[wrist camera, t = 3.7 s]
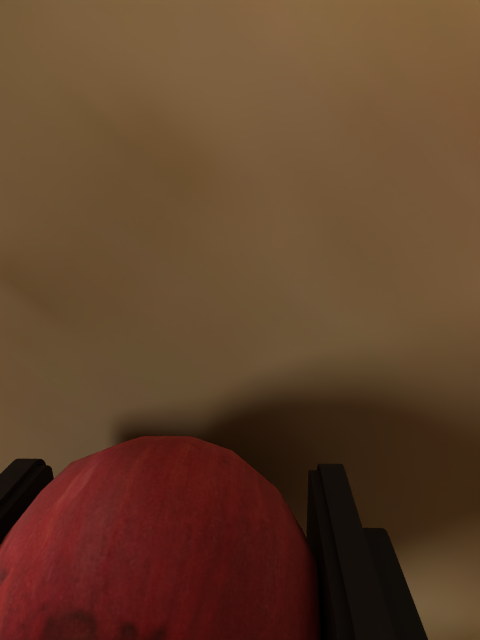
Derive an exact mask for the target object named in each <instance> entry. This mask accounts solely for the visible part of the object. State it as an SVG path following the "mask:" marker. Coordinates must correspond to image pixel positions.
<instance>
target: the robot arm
mask: <svg viewBox="0 0 480 640" xmlns="http://www.w3.org/2000/svg"><path fill="white" fill-rule="evenodd" d="M53 479H54V478H53V472H52V468H51V467H50V466H48V465H46V463H45V462H44V460H42V459H16V460H14V461H13V462H12V463H11V464H10V465H9V466H8V467H7V468H6V469H5V470H4V471H3V472H2V473H1V474H0V545H1V543H2V541H3V540H4V538H5V536H6V535H7V533H8V532H9V531H10V530H11V528H12V527H13V526H14V525H15V523H16V522H17V521H18V520H19V518H20V517H21V516H22V515H23V513H24V512H25V511H26V510H27V508H28V507H29V506H30V504H31V503H32V502H33V501H34V499H35V498H36V497H37V496H38V494H39V493H40V492H41V491H42V490H43V489H44V488H45V487H46V486H47V485H48V484H49V483H50V482H51V481H52V480H53ZM307 542H308V544H309V546H310V549H311V551H312V554H313V556H314V558H315V561H316V563H317V572H318V587H319V605H320V624H321V640H428V638H427V636H426V633H425V630H424V628H423V625H422V622H421V620H420V617H419V614H418V612H417V609H416V606H415V604H414V601H413V599H412V596H411V593H410V591H409V588H408V585H407V583H406V580H405V577H404V575H403V572H402V569H401V567H400V564H399V562H398V559H397V556H396V554H395V551H394V548H393V546H392V543H391V540H390V538H389V536H388V534H387V531H386V530H385V529H384V528H362V525H361V522H360V518H359V515H358V512H357V509H356V505H355V502H354V499H353V496H352V492H351V489H350V486H349V482H348V479H347V476H346V473H345V469H344V467H343V465H342V464H318V466H317V470H309V474H308V507H307Z"/></svg>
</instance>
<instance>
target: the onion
mask: <svg viewBox="0 0 480 640" xmlns="http://www.w3.org/2000/svg"><path fill="white" fill-rule="evenodd" d="M0 640H321V624H320V605H319V587H318V572H317V563H316V561H315V558H314V556H313V554H312V551H311V549H310V546H309V544H308V542H307V539H306V537H305V535H304V532H303V530H302V529H301V527H300V525H299V524H298V522H297V520H296V519H295V517H294V515H293V514H292V512H291V510H290V509H289V507H288V505H287V504H286V502H285V500H284V499H283V497H282V495H281V494H280V492H279V490H278V489H277V488H276V487H275V486H274V485H272V484H271V483H270V482H269V481H268V480H267V479H266V478H264V477H263V476H262V475H261V474H260V473H258V472H257V471H256V470H255V469H254V468H253V467H251V466H250V465H249V464H248V463H247V462H245V461H244V460H243V459H242V458H241V457H239V456H238V455H237V454H236V453H235V452H233V451H232V450H229V449H227V448H224V447H221V446H218V445H215V444H212V443H209V442H206V441H204V440H201V439H198V438H195V437H192V436H143V437H139V438H136V439H132V440H129V441H125V442H123V443H120V444H117V445H115V446H112V447H110V448H107V449H105V450H102V451H100V452H97V453H95V454H92V455H89V456H87V457H84V458H82V459H79V460H77V461H74V462H72V463H70V464H69V465H68V466H67V467H66V468H65V469H64V470H63V471H62V472H61V473H60V474H59V475H58V476H57V477H55V478H54V479H53V480H52V481H51V482H50V483H49V484H48V485H47V486H46V487H45V488H44V489H43V490H42V491H41V492H40V493H39V494H38V496H37V497H36V498H35V499H34V501H33V502H32V503H31V504H30V506H29V507H28V508H27V510H26V511H25V512H24V513H23V515H22V516H21V517H20V518H19V520H18V521H17V522H16V523H15V525H14V526H13V527H12V528H11V530H10V531H9V532H8V533H7V535H6V536H5V538H4V540H3V541H2V543H1V545H0Z"/></svg>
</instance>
